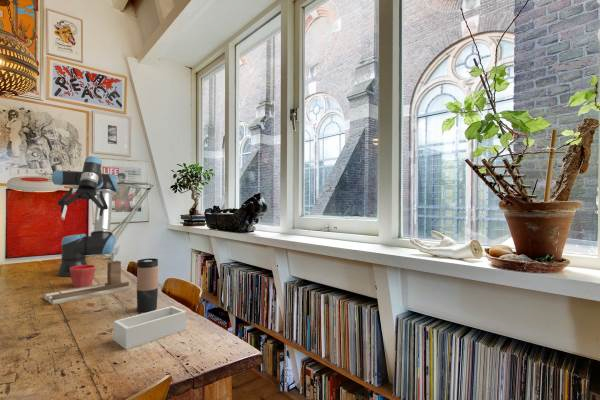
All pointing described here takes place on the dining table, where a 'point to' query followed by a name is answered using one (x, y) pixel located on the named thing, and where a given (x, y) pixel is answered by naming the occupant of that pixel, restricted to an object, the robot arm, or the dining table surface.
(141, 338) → the white rectangular planter box
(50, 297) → the birch board
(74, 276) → the flower pot
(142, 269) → the travel mug
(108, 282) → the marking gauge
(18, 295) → the dining table surface
